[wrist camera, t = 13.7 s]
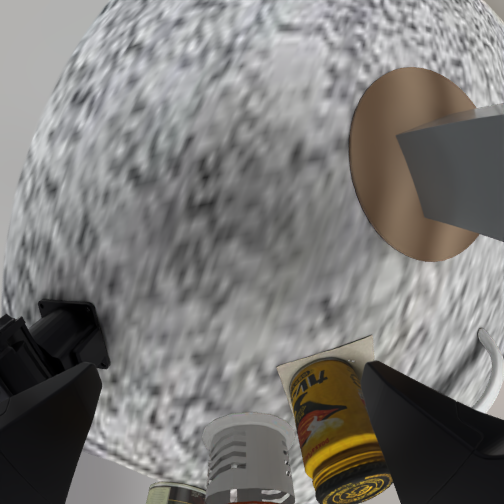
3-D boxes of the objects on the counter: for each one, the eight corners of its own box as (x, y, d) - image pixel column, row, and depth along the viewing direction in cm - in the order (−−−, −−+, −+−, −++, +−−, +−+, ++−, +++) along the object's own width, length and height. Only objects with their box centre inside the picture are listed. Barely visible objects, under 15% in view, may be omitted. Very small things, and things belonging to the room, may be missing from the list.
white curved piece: (376, 468, 28) (390, 503, 21) (321, 457, 26) (333, 503, 19) (496, 347, 24) (528, 374, 17) (467, 309, 22) (510, 341, 15)
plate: (346, 263, 20) (349, 266, 19) (341, 51, 16) (343, 48, 15) (486, 256, 20) (489, 258, 19) (485, 95, 16) (489, 95, 16)
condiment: (275, 365, 22) (296, 490, 10) (371, 334, 21) (443, 434, 10) (294, 417, 24) (314, 521, 12) (375, 390, 23) (424, 481, 12)
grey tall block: (424, 217, 18) (578, 272, 5) (395, 135, 17) (562, 108, 3) (474, 187, 18) (606, 214, 4) (450, 114, 16) (587, 94, 3)
